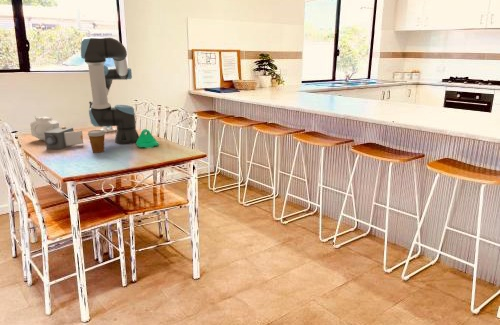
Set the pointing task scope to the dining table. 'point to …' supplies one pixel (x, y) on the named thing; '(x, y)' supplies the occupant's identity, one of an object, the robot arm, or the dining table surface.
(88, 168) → the dining table surface
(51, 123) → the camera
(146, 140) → the green triangular piece
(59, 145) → the box
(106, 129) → the white piece
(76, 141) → the side door
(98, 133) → the disposable coffee cup
